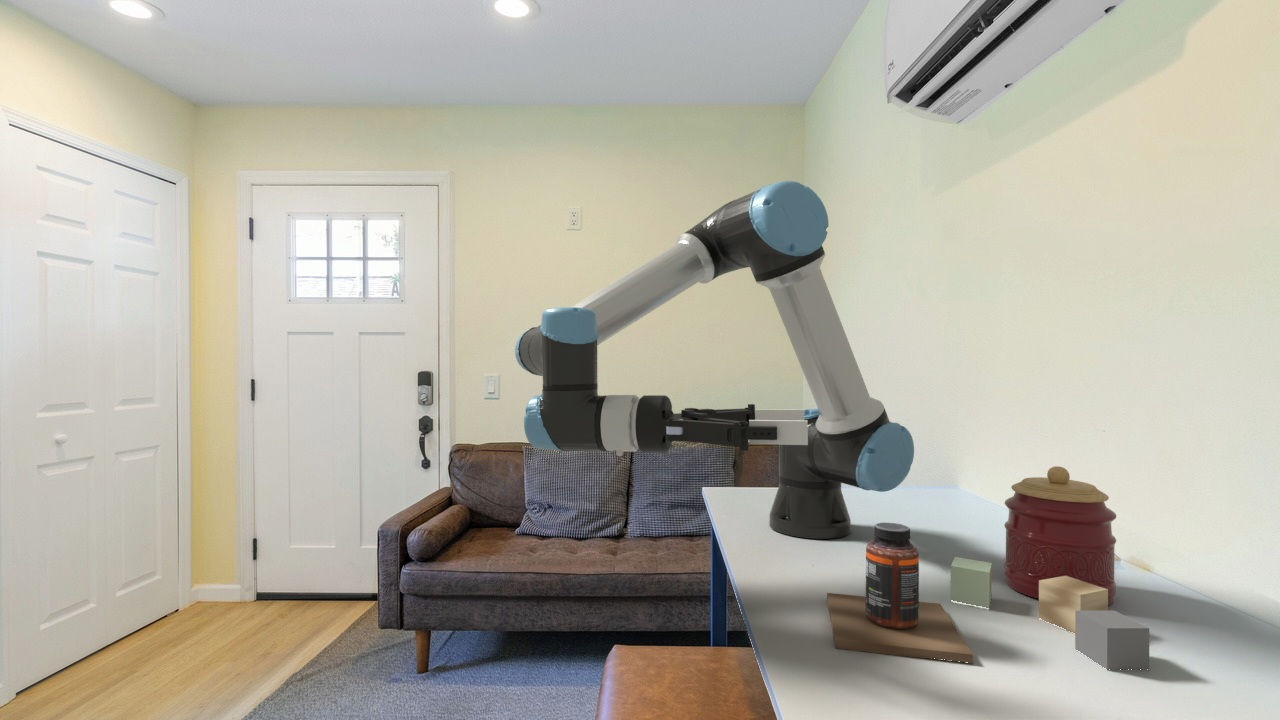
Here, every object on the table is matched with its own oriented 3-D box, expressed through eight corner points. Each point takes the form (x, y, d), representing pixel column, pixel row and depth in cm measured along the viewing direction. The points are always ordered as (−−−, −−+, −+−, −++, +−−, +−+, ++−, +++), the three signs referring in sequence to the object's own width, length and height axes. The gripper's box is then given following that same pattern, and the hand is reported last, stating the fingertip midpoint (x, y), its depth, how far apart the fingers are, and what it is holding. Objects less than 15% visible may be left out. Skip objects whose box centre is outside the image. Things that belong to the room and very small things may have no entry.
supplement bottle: (925, 620, 73) (926, 526, 73) (909, 636, 68) (911, 536, 68) (875, 606, 77) (876, 517, 77) (857, 620, 72) (858, 526, 72)
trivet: (827, 600, 81) (827, 592, 81) (940, 611, 78) (940, 603, 78) (835, 648, 67) (835, 639, 67) (972, 664, 64) (972, 654, 64)
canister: (1039, 609, 79) (1040, 474, 79) (985, 574, 92) (986, 458, 92) (1141, 611, 78) (1142, 475, 78) (1072, 575, 91) (1073, 459, 91)
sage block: (954, 592, 84) (954, 556, 84) (991, 599, 82) (991, 563, 82) (950, 602, 81) (950, 565, 81) (988, 610, 78) (989, 572, 78)
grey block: (1075, 650, 68) (1075, 610, 68) (1114, 650, 68) (1114, 610, 68) (1107, 671, 63) (1107, 628, 63) (1149, 671, 63) (1149, 628, 63)
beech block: (1038, 620, 76) (1038, 580, 76) (1065, 614, 77) (1065, 575, 77) (1080, 637, 71) (1080, 594, 71) (1107, 630, 73) (1107, 589, 73)
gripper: (659, 438, 92) (803, 441, 87) (614, 469, 68) (810, 475, 63) (658, 389, 92) (802, 389, 87) (613, 403, 68) (809, 403, 62)
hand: (806, 425), depth 75 cm, fingers open, 13 cm apart
